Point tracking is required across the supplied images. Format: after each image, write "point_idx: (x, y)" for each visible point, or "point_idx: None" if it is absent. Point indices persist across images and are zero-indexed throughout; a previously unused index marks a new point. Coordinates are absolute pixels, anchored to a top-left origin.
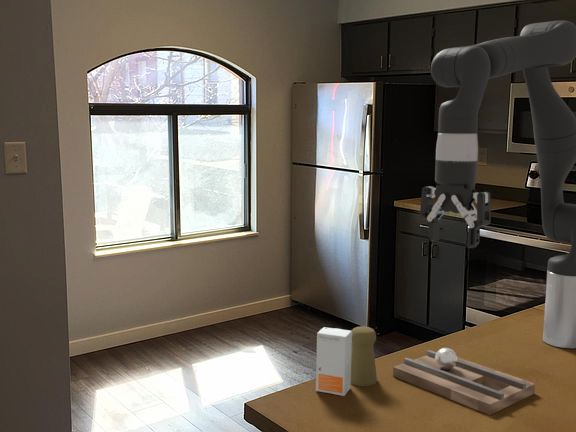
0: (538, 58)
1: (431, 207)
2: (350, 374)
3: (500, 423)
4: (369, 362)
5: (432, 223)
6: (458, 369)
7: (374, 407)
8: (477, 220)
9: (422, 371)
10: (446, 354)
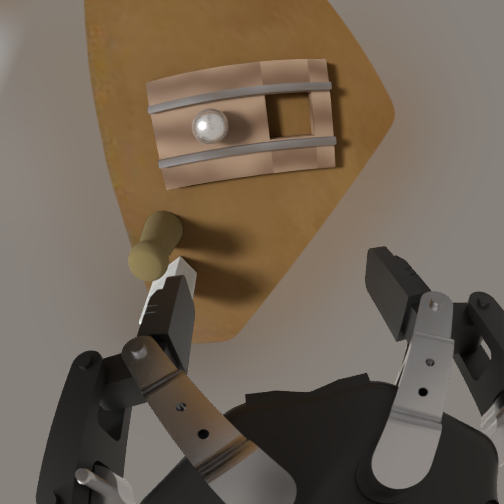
0: None
1: (96, 404)
2: (179, 267)
3: (350, 170)
4: (173, 244)
5: (183, 371)
6: (223, 108)
7: (238, 261)
8: (455, 359)
9: (201, 162)
10: (219, 136)
